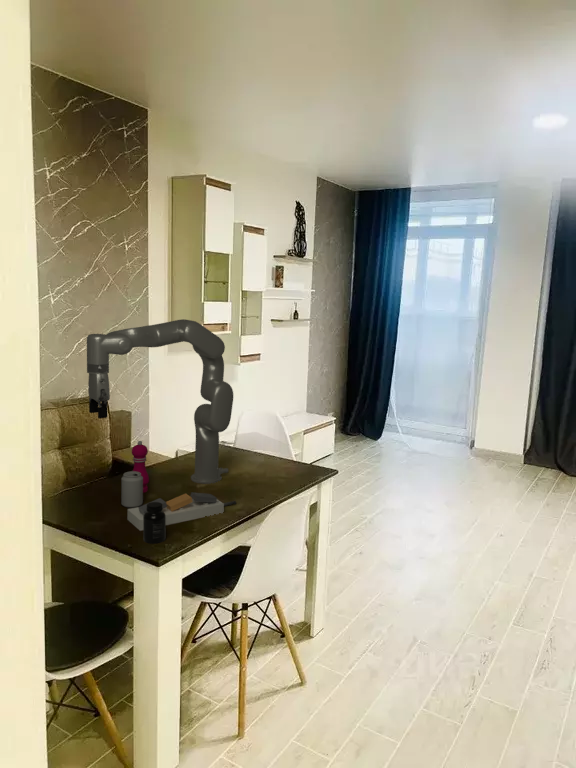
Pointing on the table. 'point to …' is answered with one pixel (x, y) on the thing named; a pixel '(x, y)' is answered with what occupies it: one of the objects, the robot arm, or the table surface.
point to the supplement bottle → (154, 524)
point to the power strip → (181, 512)
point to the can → (132, 489)
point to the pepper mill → (141, 462)
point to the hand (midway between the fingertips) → (98, 415)
